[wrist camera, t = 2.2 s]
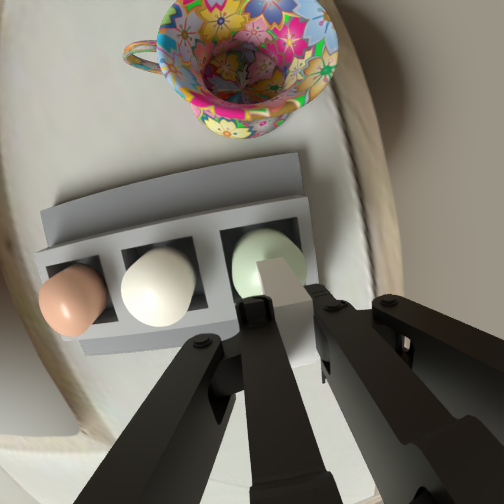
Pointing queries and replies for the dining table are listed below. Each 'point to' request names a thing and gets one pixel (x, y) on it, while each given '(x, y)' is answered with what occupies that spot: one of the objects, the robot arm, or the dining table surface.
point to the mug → (243, 60)
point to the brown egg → (73, 299)
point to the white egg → (159, 286)
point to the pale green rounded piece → (263, 258)
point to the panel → (177, 242)
